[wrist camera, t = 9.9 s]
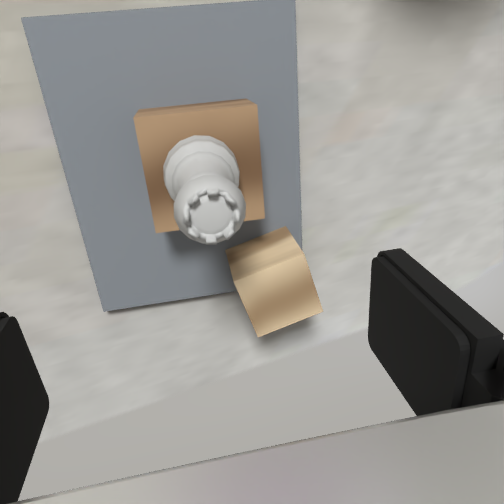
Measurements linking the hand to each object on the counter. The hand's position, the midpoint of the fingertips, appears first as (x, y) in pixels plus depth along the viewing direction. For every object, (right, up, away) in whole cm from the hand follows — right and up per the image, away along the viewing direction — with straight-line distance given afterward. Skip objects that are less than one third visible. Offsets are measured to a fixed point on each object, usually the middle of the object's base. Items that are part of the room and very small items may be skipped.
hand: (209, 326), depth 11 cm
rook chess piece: (-2, +7, +14) cm, 16 cm away
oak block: (+2, +1, +22) cm, 22 cm away
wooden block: (-2, +8, +17) cm, 20 cm away
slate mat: (-3, +8, +18) cm, 20 cm away
